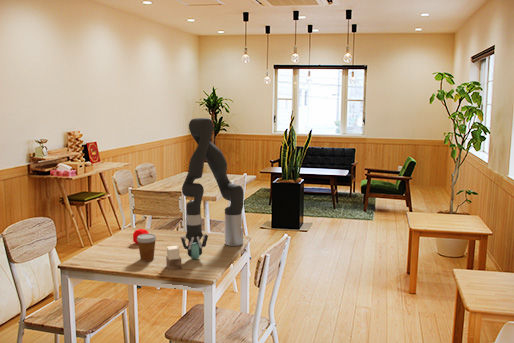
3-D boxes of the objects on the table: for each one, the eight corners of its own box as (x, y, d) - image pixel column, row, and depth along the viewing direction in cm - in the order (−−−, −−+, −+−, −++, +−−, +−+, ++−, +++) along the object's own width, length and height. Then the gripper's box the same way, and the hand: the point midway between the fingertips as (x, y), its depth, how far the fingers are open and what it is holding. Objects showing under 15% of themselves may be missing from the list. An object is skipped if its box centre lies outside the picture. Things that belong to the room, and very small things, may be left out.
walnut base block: (178, 264, 246) (178, 254, 245) (181, 268, 240) (181, 258, 239) (166, 266, 244) (166, 256, 243) (169, 270, 238) (168, 260, 237)
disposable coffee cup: (147, 263, 247) (146, 240, 244) (133, 260, 252) (132, 237, 249) (161, 258, 254) (160, 235, 252) (147, 254, 259) (146, 232, 257)
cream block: (177, 255, 244) (177, 245, 243) (179, 258, 239) (179, 248, 239) (167, 256, 242) (166, 246, 242) (169, 259, 238) (168, 249, 237)
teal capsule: (198, 255, 256) (197, 241, 255) (200, 257, 252) (200, 244, 251) (189, 256, 255) (189, 242, 253) (191, 259, 251) (191, 245, 249)
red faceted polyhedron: (151, 242, 279) (151, 229, 278) (141, 246, 273) (140, 232, 271) (141, 240, 284) (140, 227, 282) (130, 244, 277) (130, 230, 276)
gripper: (205, 219, 256) (206, 251, 259) (177, 222, 251) (179, 255, 254) (209, 223, 249) (210, 256, 252) (181, 226, 244) (182, 260, 247)
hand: (194, 255), depth 253 cm, fingers closed on teal capsule, 4 cm apart
